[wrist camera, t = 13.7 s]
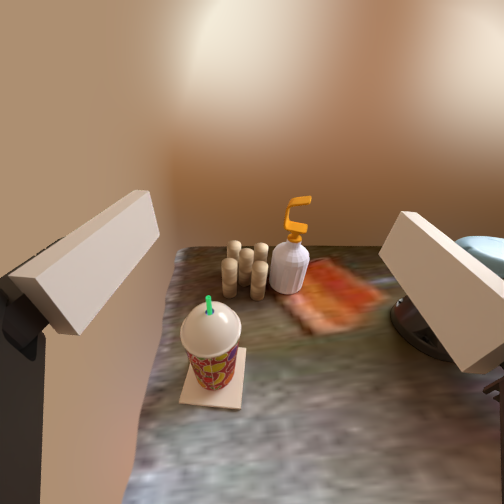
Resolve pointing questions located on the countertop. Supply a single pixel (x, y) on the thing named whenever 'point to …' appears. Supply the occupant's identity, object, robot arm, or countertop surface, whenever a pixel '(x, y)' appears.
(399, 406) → the countertop surface
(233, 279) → the spacer posts
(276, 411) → the countertop surface
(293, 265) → the soap bottle
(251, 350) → the countertop surface
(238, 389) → the plate
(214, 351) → the smoothie
